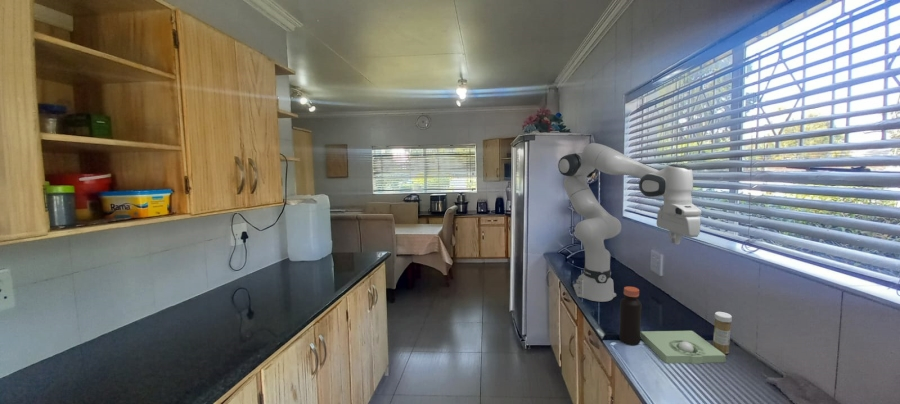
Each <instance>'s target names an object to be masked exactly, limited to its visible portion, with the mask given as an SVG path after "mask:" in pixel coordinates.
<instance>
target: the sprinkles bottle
mask: <svg viewBox="0 0 900 404" xmlns="http://www.w3.org/2000/svg"><path fill="white" fill-rule="evenodd" d="M732 317H733V316H732V314H730V313H727V312H723V311H716V312H715V313H714V329H713V339H712V340H713V342H712V346H714V347H715V348H716V349H718V350H719V351H721V352H722V353H723V354H725V355H727V354H730V344H731V343H730V342H731V327H732V326H731V325H732V321H733V318H732Z"/></svg>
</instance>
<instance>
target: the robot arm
mask: <svg viewBox="0 0 900 404" xmlns="http://www.w3.org/2000/svg"><path fill="white" fill-rule="evenodd" d="M557 167H558V171H559V173H560V174H561V175H563V176H566V177H565V178H564V180H563V186H564V190H565V192H566V194H567V197H568V199H569V201H570V203H571V205H572V206H573V209H574V211H575V212H576V214H578V215H579V216H582V217H583V218H585V219H584V220H581V221H579V222H577V224H576V225H575V227H574V233H575V236H576V238H577V240H579V241H580V242H581V244H582V246H583V248H584V268H583V272H582V274H580V275H579V276H578V277H577V279H575V283H574V284H572V285H573V290H574V292H575V294H576V296H577V297H578V298H583V299H585V300H589V301H593V302H602V303H604V302H609V301H612V300H613V299H614V298H615V297H617V293H616V292H615V290H614V279H612V278H611V276H612V269H611V253H610V251H609V250H608V249H606V247H605V242H604V241H605V240H608V239H613V238H614V237H616V236H618V235H619V234H620V233H621V232H622V223H621V221H620V220H619V219H618V218H617V217H615V216H613V215H611V214H610V213H609V212H608V211H607V210H606V209H605V208H604V207H603V206H602V205H601V204H600V203H599V201H598V200H597V198H596V196H595V194H594V193H593V191H592V189H591V187H590V186H589V184H588V182H587V179H588V178H591V177H593V175H594V174H595V173H596V172H598V171H600V172H601V173H604V174H607V175H611V176H630V177H631V176H632V177H635V178H638V179H640V180H639V183H638V189H639V191H640V193H641V194H642V196H644V197H647V198H657V197H658V198H660V197H662V198H663V204H662V205H660V207H659V210H658V211H657V215H656V217H657V218H656V226H657V227H658V228H660V229H663V230H666V231H668V235H669V237H670V243H671V244H674V245H680V244H681V240H682V238H683V237H687V238H698V237H699V235H700V232H701V218H700V216H701V215H702V210H701V209H700V208H698V207H697V206H696V205H695V204H694V203H693V196H692V191H693V190H694V174H693V169H692V168H691V167H690V166H688V165H685V164H675V163H671V164H668V165H667V166H665V167H664V168H662V169H658V168H656V167H653V166H651V165H649V164H646V163H643V162H641V161H639V160H636V159H634V158H632V157H630V156H628V155H626V154H624V153H622V152H620V151H618V150H616V149H614V148H612V147H609V146H607V145H605V144H602V143H597V142H591V143H589V144H587V145H586V146H585V147H584V148H583V150H582V152H578V153H576V152H574V153H568V154H565V155H563V156H561V158H559V160H558V163H557Z"/></svg>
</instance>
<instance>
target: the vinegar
mask: <svg viewBox="0 0 900 404" xmlns="http://www.w3.org/2000/svg"><path fill="white" fill-rule="evenodd" d="M623 296H624V297H622V298H621V299H620V303H619V304H620V305H619V336H618V338H619V340H620V342H622V343H623V344H625V345H629V346H638V345H640V343H641V338H640V331H641V326H642V325H641V324H642V305H643V304H642V301H640V300H639V296H640V289H639V288H638V287H635V286H624V287H623Z"/></svg>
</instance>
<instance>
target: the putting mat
mask: <svg viewBox="0 0 900 404" xmlns="http://www.w3.org/2000/svg"><path fill="white" fill-rule="evenodd" d="M640 335H641V338H640V340H641V341H642V342H644V344H646V345H647V346H648V347H649V348H650V350H652V351H653V352H654V353H655V354H657V356H658V357H659V358H660V359H661V360H662V361H663V362H664V363H666V364H692V365H700V364H701V365H702V364H703V363H705V364H711V363H713V364H714V363H726V358H727V356H726V355H727V354H723V353H722V352H721V351H719V350H718V349H716V348H715V347H714V346H713V344H711V343H710V342H708V341H707V340H705V338H704V337H702V336H700V335H699V334H697V333H696V332H695V331H694V330H654V331H653V330H651V331H648V330H647V331H645V330H644V331H641V330H640ZM683 341H686V342H689V343H690V344H691V345H692V346H693V348H694V351H693V353H688V352H684V351H682V350H679V348H678V346H679V344H680V343H681V342H683Z"/></svg>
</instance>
